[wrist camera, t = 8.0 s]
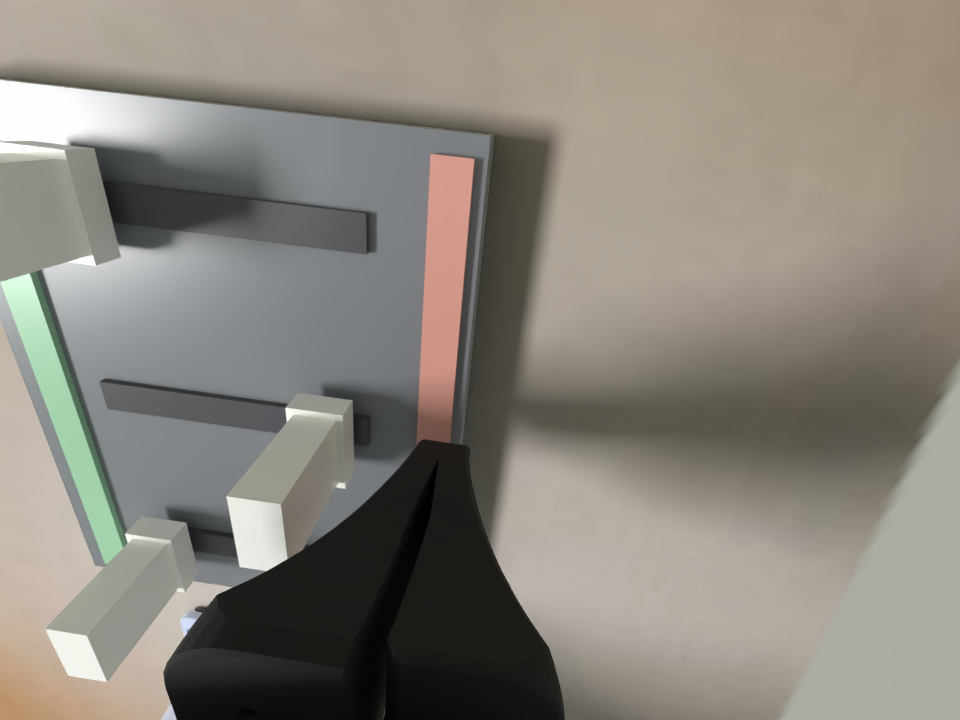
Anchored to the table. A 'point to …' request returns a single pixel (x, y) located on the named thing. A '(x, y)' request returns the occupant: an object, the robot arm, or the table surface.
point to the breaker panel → (244, 302)
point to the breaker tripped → (292, 481)
